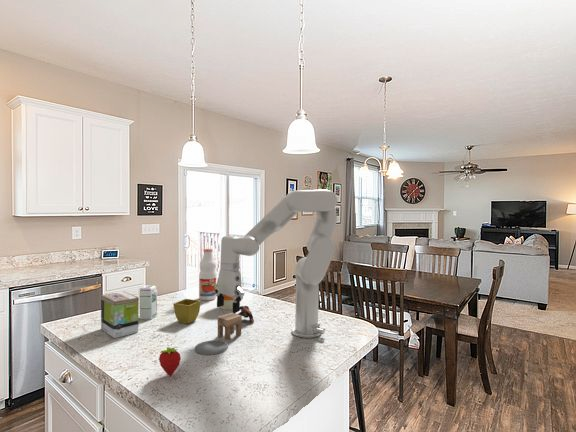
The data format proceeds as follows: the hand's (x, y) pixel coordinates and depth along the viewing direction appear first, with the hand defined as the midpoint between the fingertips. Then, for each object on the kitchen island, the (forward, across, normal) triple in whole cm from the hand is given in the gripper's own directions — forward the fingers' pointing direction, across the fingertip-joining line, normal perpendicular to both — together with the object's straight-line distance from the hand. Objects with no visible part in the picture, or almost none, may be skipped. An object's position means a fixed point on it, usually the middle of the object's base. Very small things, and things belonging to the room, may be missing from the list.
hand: (227, 308), depth 135 cm
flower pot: (+12, +26, +1) cm, 29 cm away
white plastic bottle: (+12, +50, -28) cm, 59 cm away
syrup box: (+12, +44, +10) cm, 47 cm away
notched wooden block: (+11, -1, -1) cm, 11 cm away
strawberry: (+12, -12, +32) cm, 36 cm away
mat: (+11, -5, +11) cm, 17 cm away
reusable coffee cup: (+11, +29, -26) cm, 41 cm away
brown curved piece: (+11, +8, -16) cm, 21 cm away
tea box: (+13, +37, +26) cm, 47 cm away
